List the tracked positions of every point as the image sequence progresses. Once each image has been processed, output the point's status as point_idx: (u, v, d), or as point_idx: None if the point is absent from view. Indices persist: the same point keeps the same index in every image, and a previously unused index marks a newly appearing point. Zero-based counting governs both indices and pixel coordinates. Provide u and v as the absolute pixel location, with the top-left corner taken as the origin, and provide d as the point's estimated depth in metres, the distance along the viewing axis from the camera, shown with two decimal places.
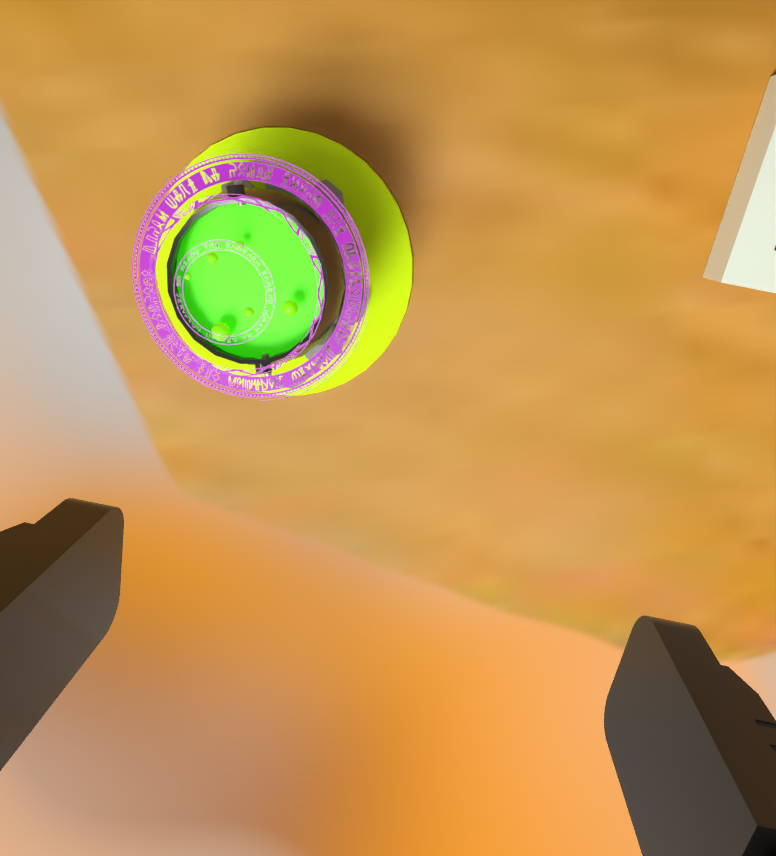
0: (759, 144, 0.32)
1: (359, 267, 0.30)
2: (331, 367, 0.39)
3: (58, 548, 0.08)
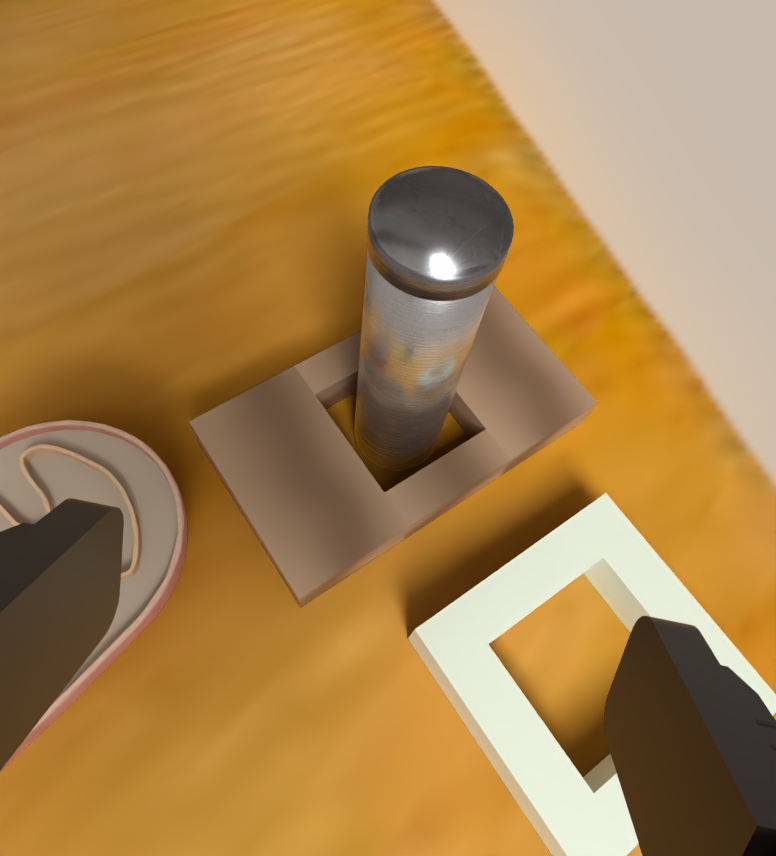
0: (462, 709, 0.25)
1: None
2: None
3: (58, 548, 0.08)
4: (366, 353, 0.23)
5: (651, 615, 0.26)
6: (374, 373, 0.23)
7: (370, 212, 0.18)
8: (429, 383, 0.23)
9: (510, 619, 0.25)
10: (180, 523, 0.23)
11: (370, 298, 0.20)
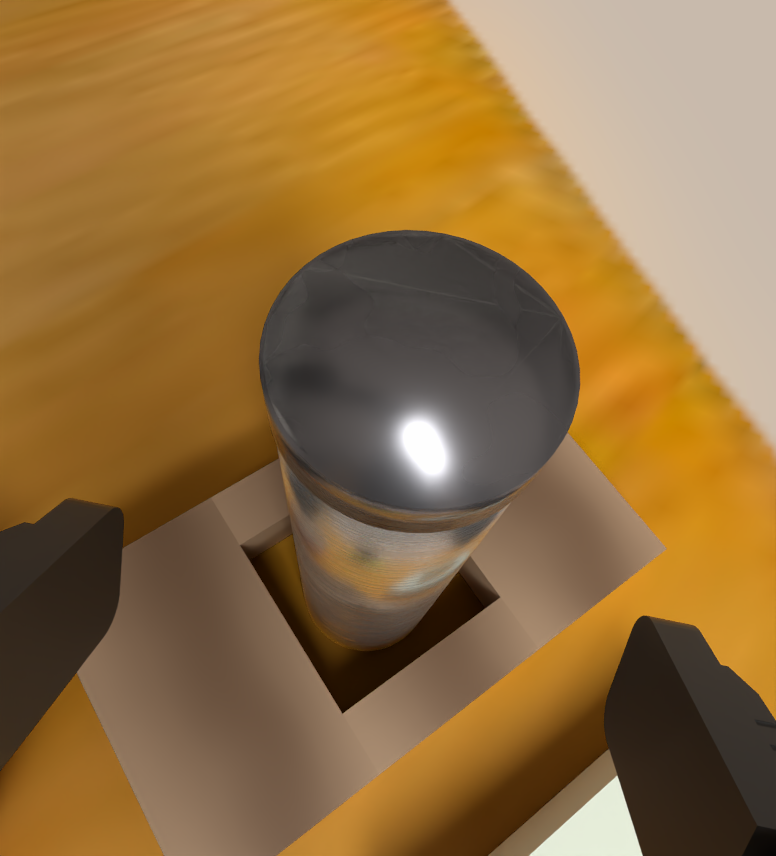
0: None
1: None
2: None
3: (58, 548, 0.08)
4: (296, 541, 0.13)
5: None
6: (313, 572, 0.13)
7: (264, 340, 0.08)
8: (407, 599, 0.13)
9: None
10: None
11: (286, 484, 0.10)
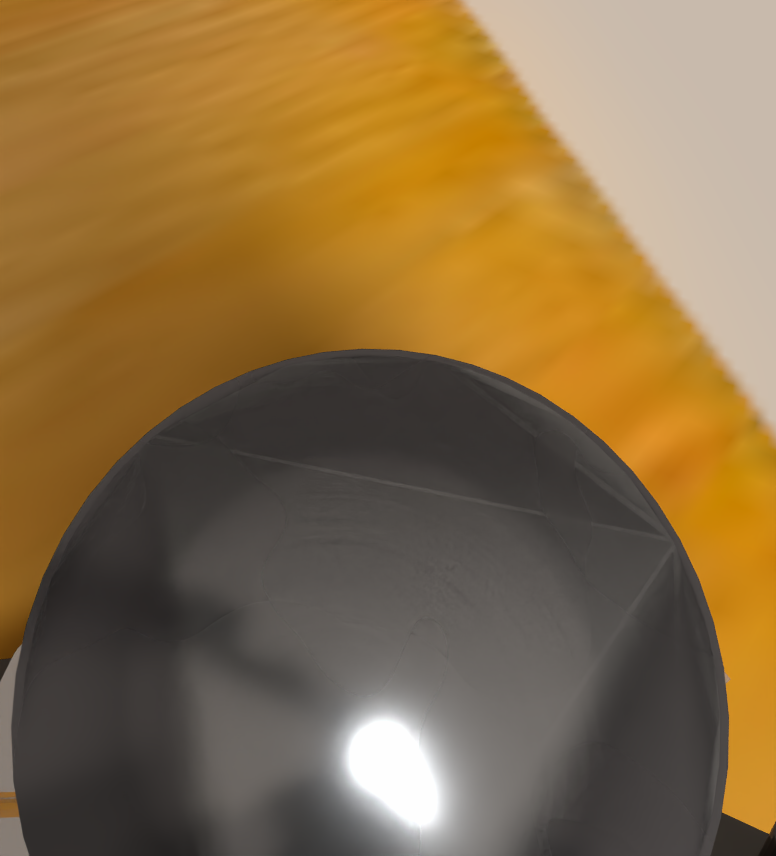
0: None
1: None
2: None
3: None
4: None
5: None
6: None
7: (37, 620, 0.04)
8: None
9: None
10: None
11: None
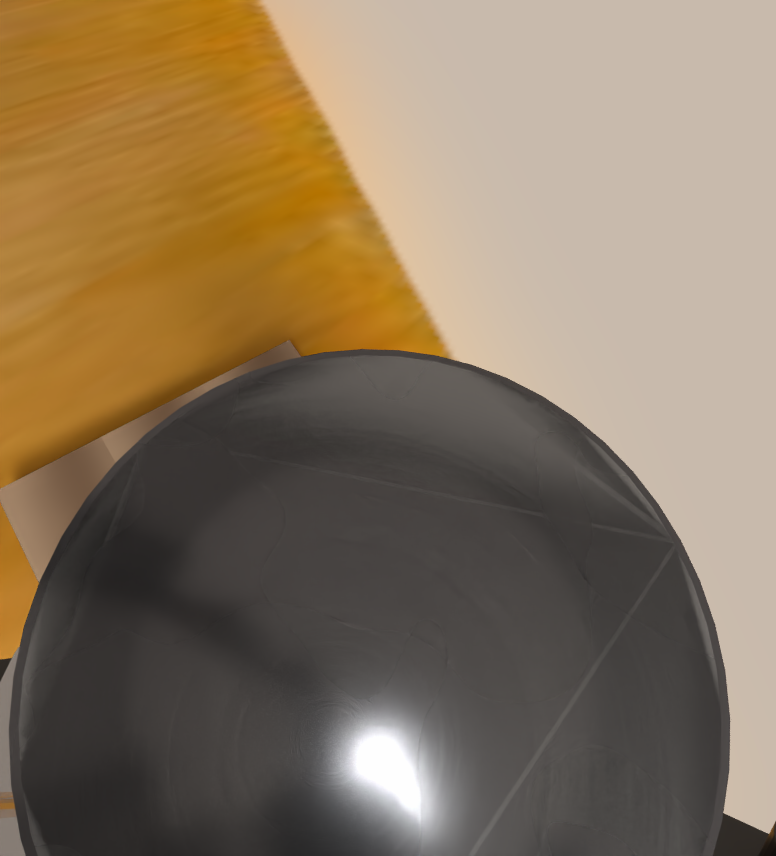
0: None
1: None
2: None
3: None
4: None
5: None
6: None
7: (36, 622, 0.04)
8: None
9: None
10: None
11: None
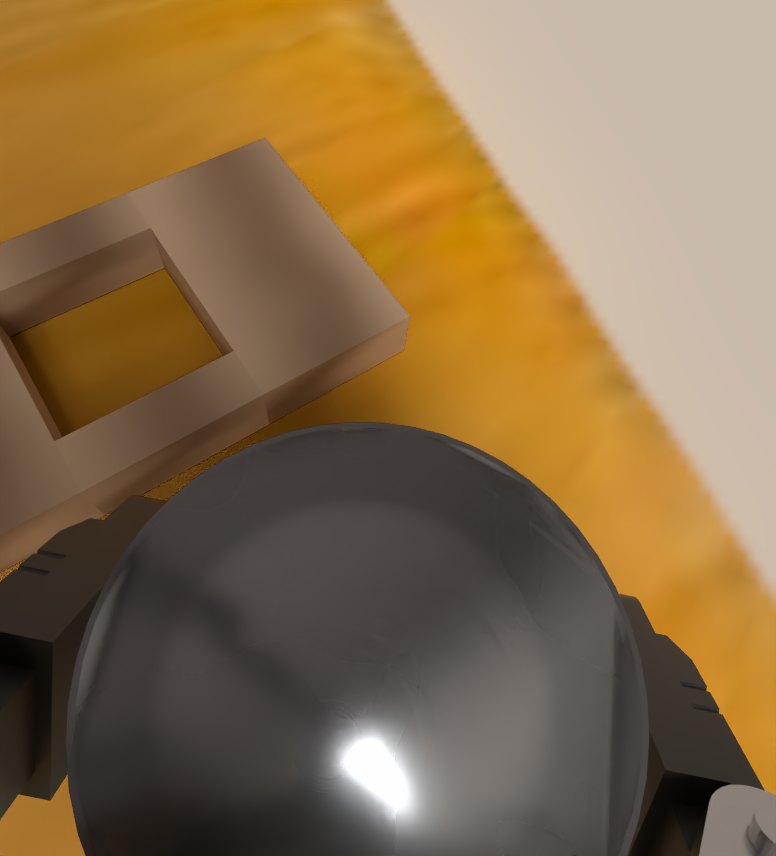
0: None
1: None
2: None
3: (131, 542, 0.09)
4: None
5: None
6: None
7: (84, 657, 0.05)
8: None
9: None
10: None
11: None
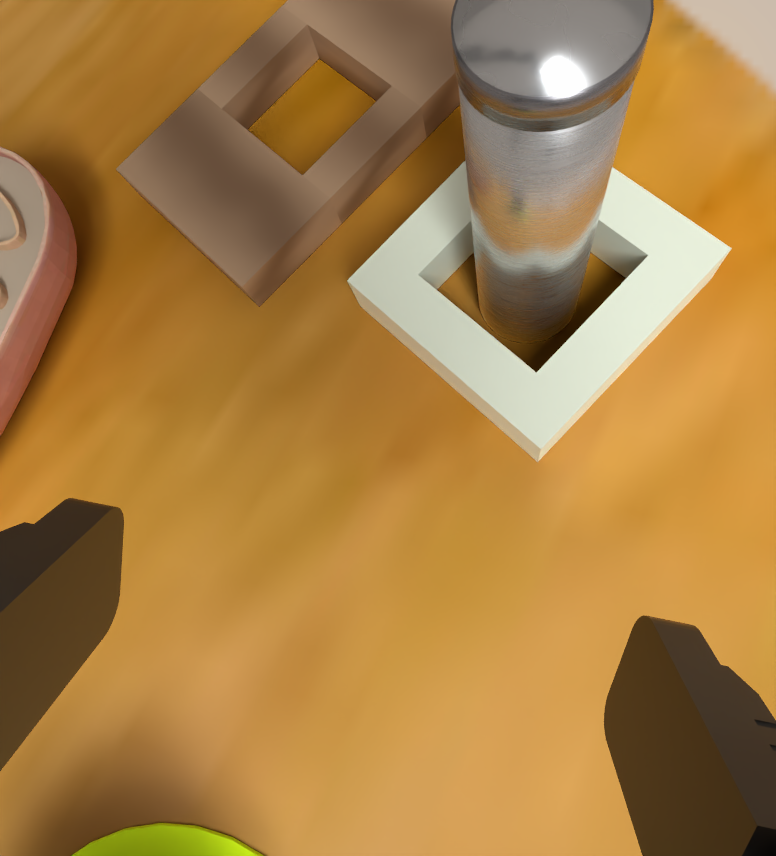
0: (410, 342, 0.26)
1: None
2: None
3: (58, 548, 0.08)
4: (482, 221, 0.19)
5: None
6: (497, 241, 0.20)
7: (454, 37, 0.14)
8: (567, 235, 0.19)
9: (436, 247, 0.26)
10: (40, 185, 0.27)
11: (476, 152, 0.16)
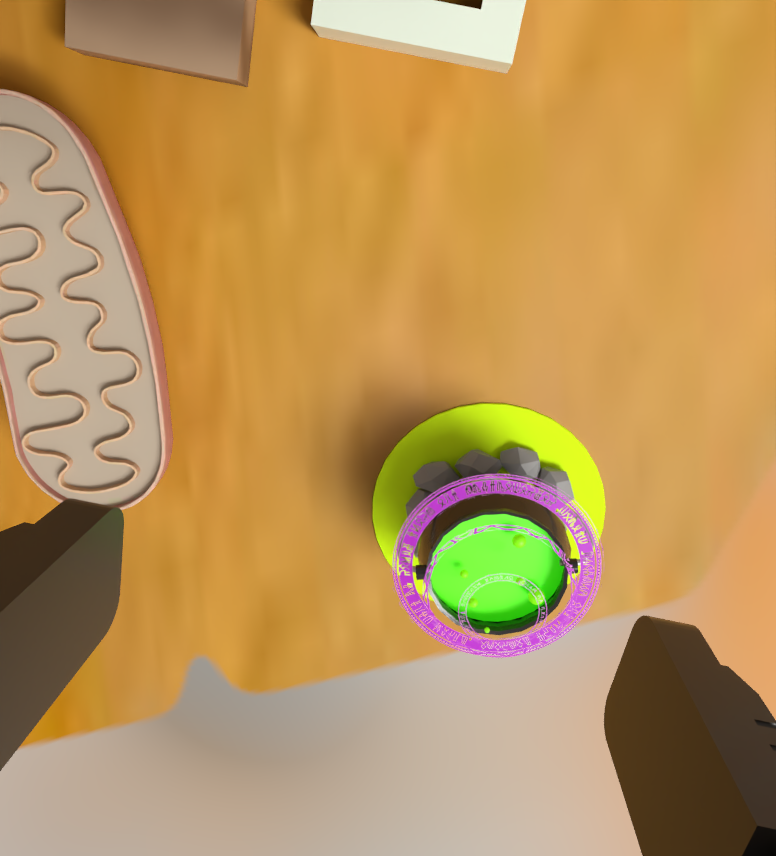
0: (379, 42, 0.33)
1: (486, 481, 0.34)
2: (580, 479, 0.41)
3: (58, 548, 0.08)
4: None
5: None
6: None
7: None
8: None
9: None
10: (32, 100, 0.32)
11: None
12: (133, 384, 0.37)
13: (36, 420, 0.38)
